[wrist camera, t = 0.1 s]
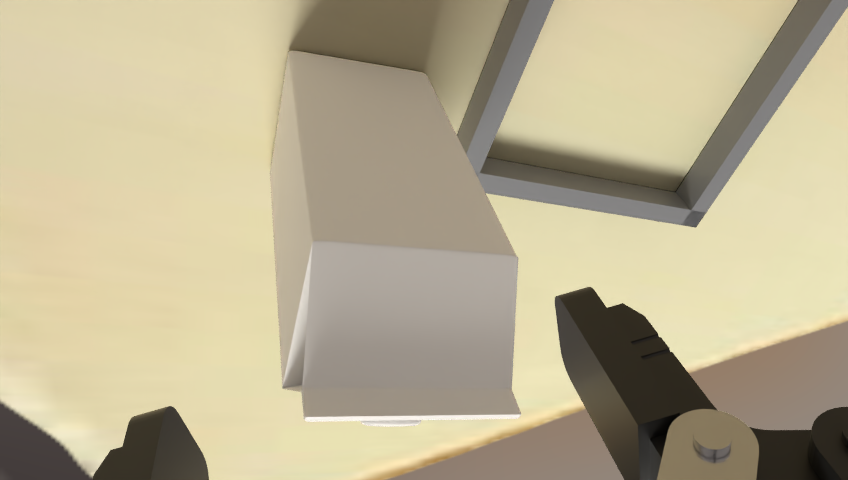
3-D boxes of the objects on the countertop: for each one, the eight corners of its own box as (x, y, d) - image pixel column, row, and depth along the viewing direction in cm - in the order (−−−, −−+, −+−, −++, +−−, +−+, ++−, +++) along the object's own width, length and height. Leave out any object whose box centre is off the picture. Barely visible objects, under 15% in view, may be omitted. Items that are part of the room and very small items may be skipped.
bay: (558, -123, 29) (575, -114, 28) (831, -21, 35) (858, -9, 34) (444, 168, 38) (452, 187, 36) (680, 209, 44) (696, 227, 43)
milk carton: (287, 47, 32) (325, 334, 17) (426, 71, 34) (561, 341, 19) (269, 171, 36) (287, 487, 21) (394, 184, 38) (487, 478, 24)
